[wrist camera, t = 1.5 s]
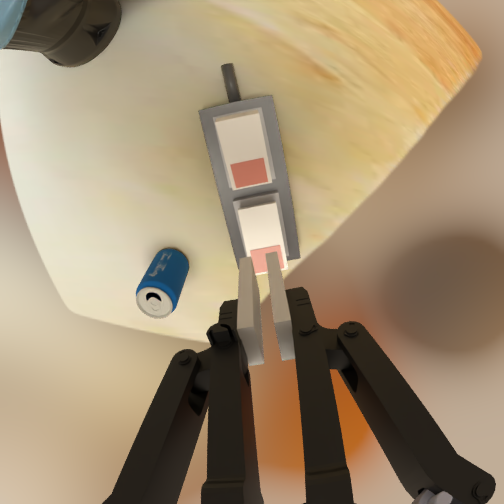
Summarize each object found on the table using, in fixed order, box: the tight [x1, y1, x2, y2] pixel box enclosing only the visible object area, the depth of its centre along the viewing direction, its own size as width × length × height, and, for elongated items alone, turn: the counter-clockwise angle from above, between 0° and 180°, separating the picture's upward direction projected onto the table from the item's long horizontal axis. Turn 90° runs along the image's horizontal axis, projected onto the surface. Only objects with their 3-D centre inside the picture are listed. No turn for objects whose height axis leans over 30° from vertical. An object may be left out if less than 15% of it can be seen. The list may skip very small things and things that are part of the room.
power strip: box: [199, 63, 300, 269], centre depth 38 cm, size 31×10×5 cm, turn 12°
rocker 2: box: [238, 201, 288, 275], centre depth 37 cm, size 9×5×2 cm, turn 12°
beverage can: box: [136, 249, 189, 319], centre depth 43 cm, size 6×6×12 cm
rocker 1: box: [215, 110, 272, 190], centre depth 32 cm, size 9×5×3 cm, turn 11°
